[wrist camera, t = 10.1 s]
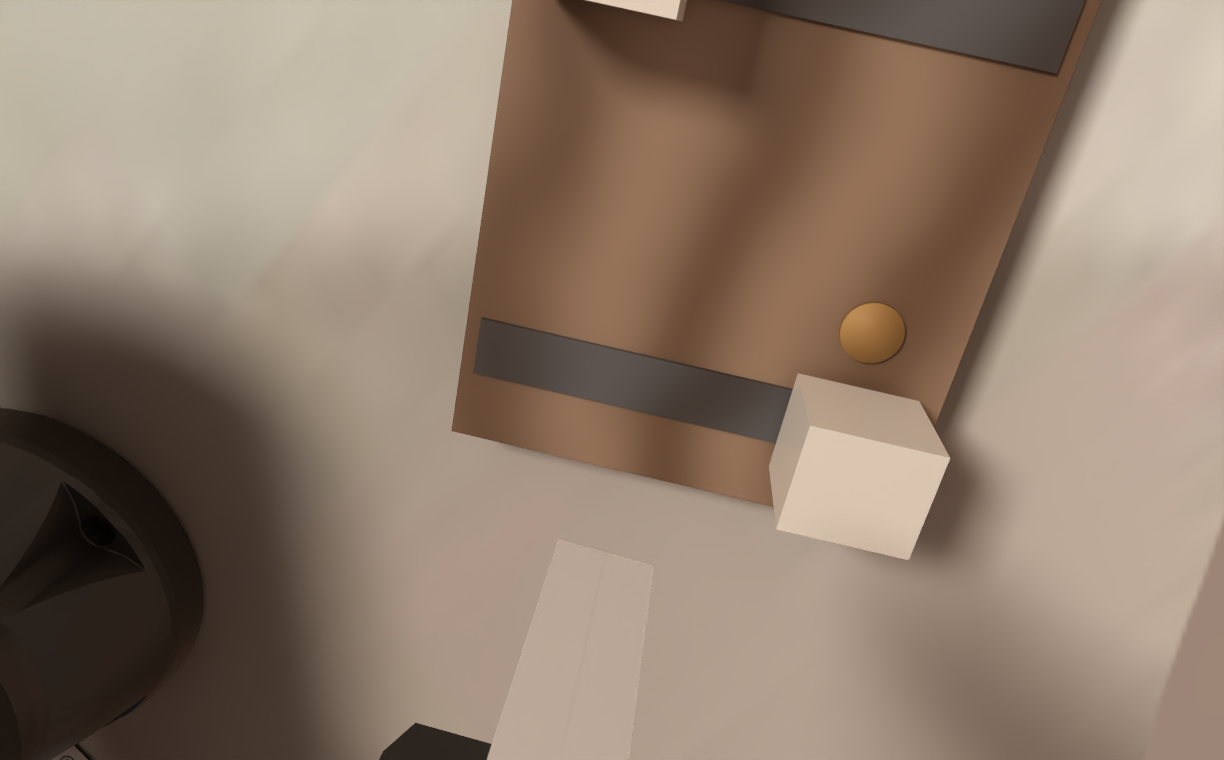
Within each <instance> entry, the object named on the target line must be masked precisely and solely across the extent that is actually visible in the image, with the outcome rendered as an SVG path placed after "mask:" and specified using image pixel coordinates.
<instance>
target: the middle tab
mask: <svg viewBox="0 0 1224 760" xmlns="http://www.w3.org/2000/svg"><path fill="white" fill-rule="evenodd" d="M587 1H591V2H596V3H601V4H605V5H610V6H614V7H619V8H623V9H628V10H632V11H637V12H642V13H646V14H651V15H655V16H660V17H664V18H669V19H674V20H678V21H683V17H684V12H685V8H686V3H687V0H587Z"/></svg>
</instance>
